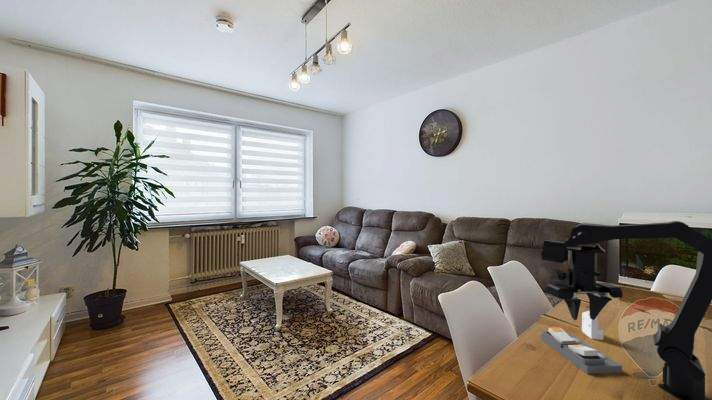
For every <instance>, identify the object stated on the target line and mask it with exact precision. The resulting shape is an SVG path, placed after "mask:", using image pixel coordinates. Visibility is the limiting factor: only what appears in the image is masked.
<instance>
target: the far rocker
mask: <svg viewBox="0 0 712 400" xmlns="http://www.w3.org/2000/svg"><path fill="white" fill-rule="evenodd" d="M547 331H548V332H549V333H550V334H551V335H552V336H553V337H554V338H555V339H556V340H558V341H559V342H561V343H574V340H573V339H572V338H571V337H570V336H569V335H568V334H567V333H568V332H566V331H565V330H564V329H563V328H561V327H548V330H547Z"/></svg>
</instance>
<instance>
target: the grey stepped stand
mask: <svg viewBox="0 0 712 400" xmlns="http://www.w3.org/2000/svg"><path fill="white" fill-rule="evenodd" d="M566 333H567V334H568V335H569V336H570V337H571V338H572V339H573V340H574V343H561V342H559V341H558V340H556V339H555V338H554V337H553V336H552V335H551V334H550V333H549V332H548V330H546V331H544V330H543V331H542V333H540V340H541V341H542V342H544V343H545V344H546V345H547V346H549V347H550V348H552V349H553V350H554V351H556V352H557V353H559V355H561V356H563V358H565V359H567V360H568V361H569V362H570V363H572V365H575V366H576V367H578V368H579V369H580V370H581V371H582V372H584V373H585V374H587V375H595V374H622V373H623V365H621V364H620V363H618V362H617V361H615V360H613V359H612V358H610V357H609V356H607V355H606V354H604V353H602V352H601V351H599V350H597V348H594V347H593V346H592V345H589V344H588V343H586V342H584V341H583V340H581V339H579V338H578V337H577V336H574V335H573V334H571V333H570V332H566ZM568 345H583V346H586V347H589V348H592V349H595V350H597V352H598V356H583V355H581V354H578V353H575V352H574V351H572V350H571V349H569V348H568Z"/></svg>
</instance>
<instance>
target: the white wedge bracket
mask: <svg viewBox="0 0 712 400" xmlns="http://www.w3.org/2000/svg"><path fill="white" fill-rule="evenodd" d="M598 316H599V315H598ZM598 316H597V317H596V318H595V320H592V319H591V318H590V310H587V311H583V312H582V313H581V332H582V333H583V334H584V335H586V336H587V337H588V338H590V339H592V340H599V341H602V340H604V338H605V337H604V333H605V331H604V330H603V329H602V328H600V327H599V326H598V321H599V319H598V318H599V317H598Z"/></svg>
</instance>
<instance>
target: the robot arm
mask: <svg viewBox="0 0 712 400" xmlns="http://www.w3.org/2000/svg"><path fill="white" fill-rule="evenodd" d="M662 238H663V239H665V238H667V239H671V238H672V239H674V238H675V239H677V240H679V241H680V242H682V243H684V244H686V245H688V246H690V247H691V248H692V249H694V250H695V251H697V257H696V266H695V269H696V270H695V273H694V274H695V275H694V276H693V278H692V280H691V282H690V284H689V286H688V289H687V291H686V292H685V294H684V296H683V299H682V301H681V302H680V305H679V307H678V309H677V311H676V313H675V316H673V317H674V318H673V319H672V321H671V322H670V323H668V325H667V326H666V325H664V324H662V323H658V328H657V330H656V332H655V333H654V334H653V335H652V337H653V343H654V346H655V348H656V352H657V355H658V357H659V358H661V360H662V361H664V362H663V363H664V364H663V367H662V383H658V384H657V386H658V387H659V388H661V389H663V390H664V391H666V392H667V393H670V395H672V396H674V397H676V398H677V399H678V400H711V398H709V397H707V396H706V373H705V369H704V368H703V366H702V364H701V362H700V361H701V360H700V359H699V357H697V356H696V355H695V354H694V349H695V334H696V332H697V331H698V329H699V326H700V325H701V323H702V321H703V319H704V317H705V315H706V313H707V311H708V310H709V309H708V308H709V307H710V305H711V303H712V238H710V237H709V236H706V235H705V234H703V233H701V232H699V231H697V230H695V229H694V228H692V227H690V226H689V225H688V224H686V223H685V222H682V221H680V220H671V221H668V222H665V221H664V222H651V223H650V222H649V223H634V224H633V223H632V224H618V225H617V224H616V225H615V224H613V225H609V224H598V223H587V222H585V223H584V222H583V223H579V224H577V225H576V226H574V227H573V228H572V229H571V232H570V237H569V238H566V239H565V240H564V241H558V240H555V241H554V240H550V239H545V240H543V244H542V248H541V249H542V250H541V256H540V257H541V260H542V262H546V263H551V264H552V263H553V264H561V265H565V264H566V262H570V257H571V267H568V268H567V271H566V272H562V270H561V269H554V270H552V271H551V278H552V280H553V281H557V282H558V283H548V284H547V286H546V293H547V294H549V295H552V296H553V297H555V298H557V299H561V300H564V302H565V304H566V306H567V308H568V311H569V314H570V317H571V318H572V320H573V321H577V320H578V317H579V312H580V308H581V303H582V302H581V301H582V299H580V298H578V294H579V295H580V294H583V295H585V294H586V296H587V298H588V301H589V302H588V303H589V311H590V318H591V319H592V320H595V318H596V317H597V316H599V314H600V312H601V311H602V310H603V309H604V307H606V305H608V303H609V302H612V301H613V298H614V299H621V298H623V290H622V288H621V287H620V286H617V285H614V284H611V283H608V282H597V277H600V276H601V272H600V271H597V267H598V265H597V264H598V263H597V259H598V258H597V255H598V254H601V255H602V254H603V255H604V254H605V253H606V249H604V248H603V247H601V245H600V244H599V243H602V242H603V243H604V242H608V241H613V240H633V239H634V240H638V239H662ZM593 244H595V245H594V246H593ZM578 245H581V246H580V247H575V246H578ZM608 294H609V296H610V297H608Z"/></svg>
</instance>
